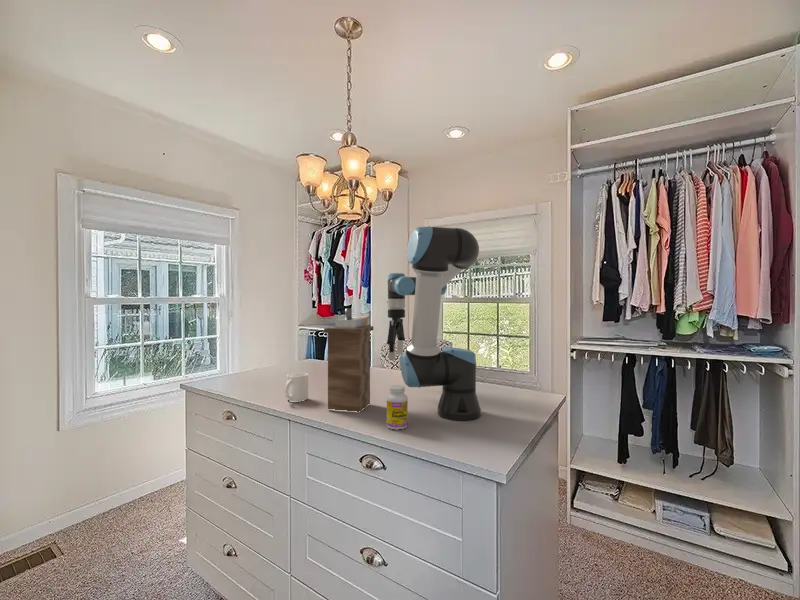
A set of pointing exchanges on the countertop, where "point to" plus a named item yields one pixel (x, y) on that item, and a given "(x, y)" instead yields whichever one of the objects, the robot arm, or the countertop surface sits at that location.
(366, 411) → the countertop surface
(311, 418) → the countertop surface
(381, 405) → the countertop surface
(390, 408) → the supplement bottle
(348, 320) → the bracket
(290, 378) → the mug
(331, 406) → the post
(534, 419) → the countertop surface
